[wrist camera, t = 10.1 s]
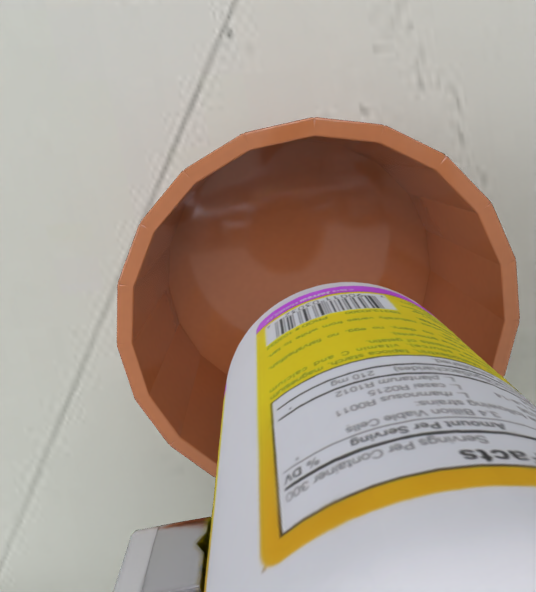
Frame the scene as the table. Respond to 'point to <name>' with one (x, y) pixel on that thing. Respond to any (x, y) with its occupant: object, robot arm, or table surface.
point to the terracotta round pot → (300, 257)
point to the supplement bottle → (369, 455)
